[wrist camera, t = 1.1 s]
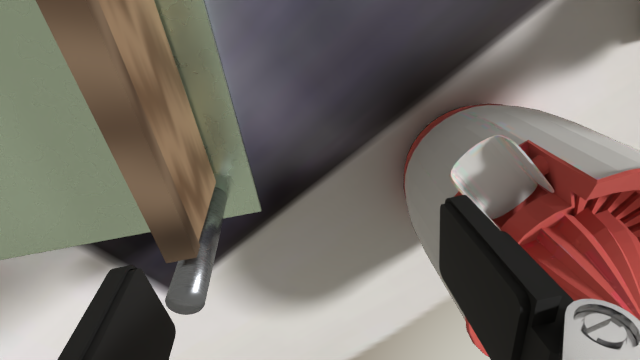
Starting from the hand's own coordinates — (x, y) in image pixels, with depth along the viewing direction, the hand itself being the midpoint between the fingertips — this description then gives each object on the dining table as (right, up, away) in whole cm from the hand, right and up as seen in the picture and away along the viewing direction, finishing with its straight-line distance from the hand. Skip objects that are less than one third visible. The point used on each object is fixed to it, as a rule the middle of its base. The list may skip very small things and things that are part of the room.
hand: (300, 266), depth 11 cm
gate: (-11, +11, +15) cm, 22 cm away
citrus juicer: (+14, +5, +24) cm, 28 cm away
